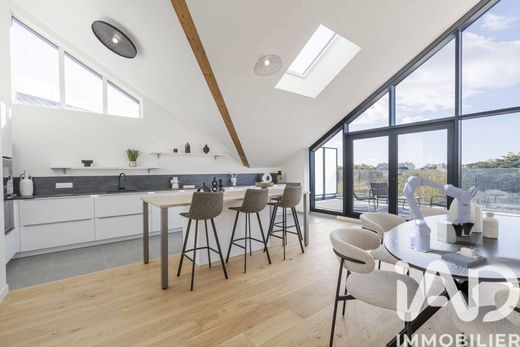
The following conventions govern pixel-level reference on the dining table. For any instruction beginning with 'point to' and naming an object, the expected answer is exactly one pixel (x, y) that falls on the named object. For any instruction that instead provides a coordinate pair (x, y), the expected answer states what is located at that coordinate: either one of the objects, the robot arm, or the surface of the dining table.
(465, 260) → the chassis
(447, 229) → the supplement box
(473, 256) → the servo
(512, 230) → the dining table surface
